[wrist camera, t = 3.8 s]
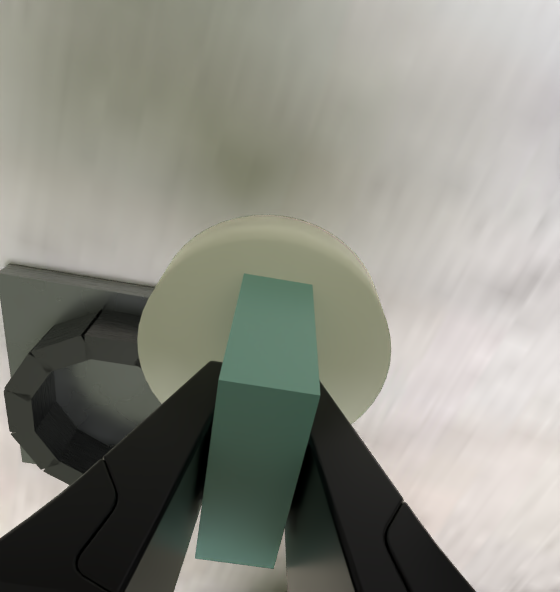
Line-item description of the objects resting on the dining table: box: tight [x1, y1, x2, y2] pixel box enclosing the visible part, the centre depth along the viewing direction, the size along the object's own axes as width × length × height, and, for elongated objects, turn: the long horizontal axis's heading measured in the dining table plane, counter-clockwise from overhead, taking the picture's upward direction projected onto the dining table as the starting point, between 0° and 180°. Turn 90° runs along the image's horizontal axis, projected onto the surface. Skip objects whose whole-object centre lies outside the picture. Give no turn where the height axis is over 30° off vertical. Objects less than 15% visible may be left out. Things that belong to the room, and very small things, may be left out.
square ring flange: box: [0, 264, 161, 485], centre depth 23 cm, size 12×12×3 cm
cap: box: [137, 215, 391, 569], centre depth 9 cm, size 6×6×5 cm
